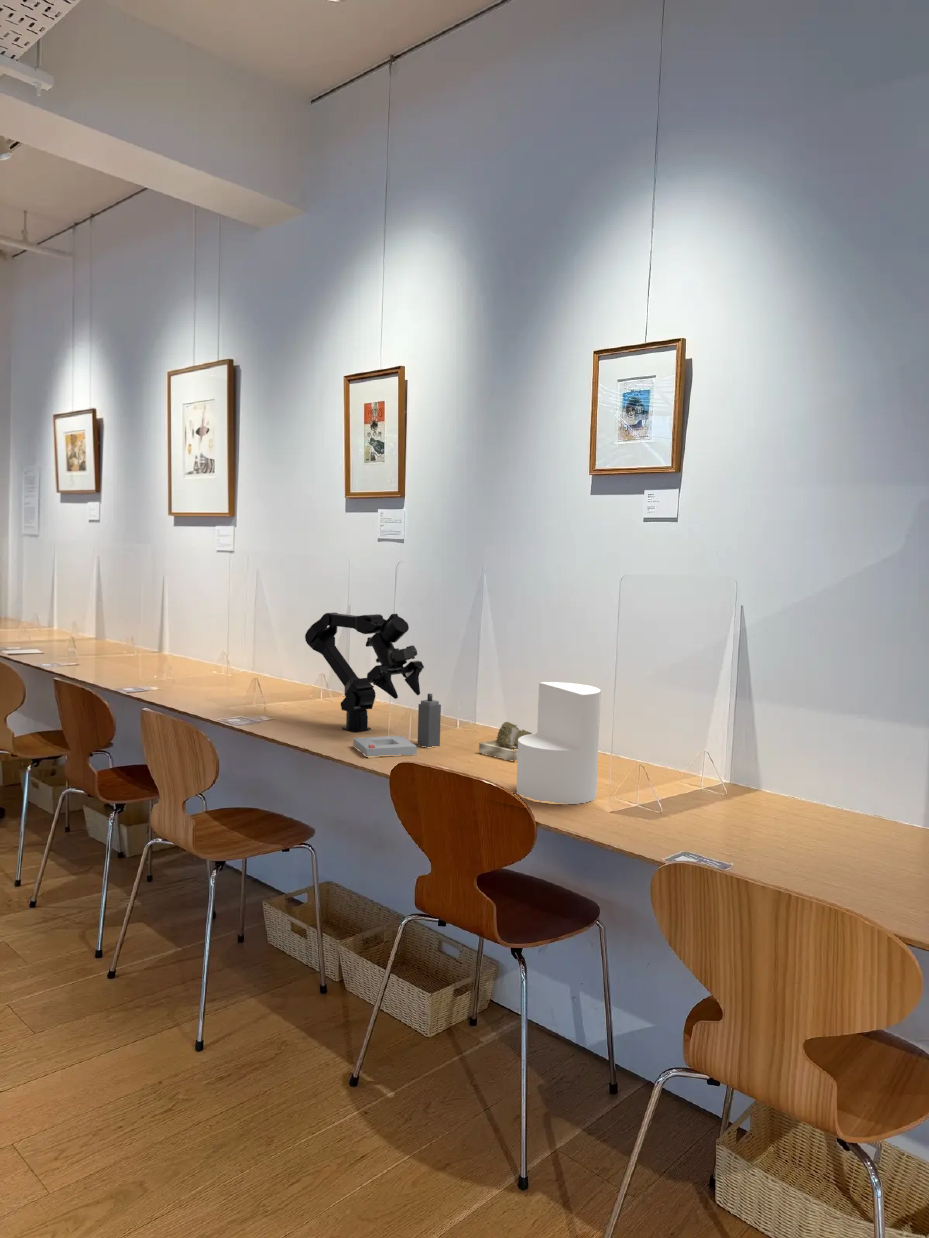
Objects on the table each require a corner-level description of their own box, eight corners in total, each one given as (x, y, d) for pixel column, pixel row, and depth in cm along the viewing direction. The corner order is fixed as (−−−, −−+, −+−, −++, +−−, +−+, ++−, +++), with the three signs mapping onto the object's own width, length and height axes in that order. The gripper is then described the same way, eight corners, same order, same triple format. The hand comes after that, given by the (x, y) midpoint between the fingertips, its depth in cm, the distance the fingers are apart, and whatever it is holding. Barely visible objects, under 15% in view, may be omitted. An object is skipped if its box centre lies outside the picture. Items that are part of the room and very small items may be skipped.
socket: (353, 746, 255) (353, 736, 255) (400, 744, 260) (401, 733, 260) (366, 758, 242) (367, 747, 242) (416, 755, 247) (416, 744, 247)
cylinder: (572, 780, 225) (576, 681, 223) (611, 801, 208) (616, 693, 206) (503, 786, 218) (506, 683, 216) (537, 808, 201) (541, 696, 199)
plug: (417, 745, 259) (418, 693, 258) (428, 743, 262) (430, 692, 261) (428, 748, 256) (429, 695, 255) (439, 746, 259) (441, 694, 258)
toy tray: (478, 753, 251) (479, 743, 251) (527, 742, 266) (528, 733, 266) (514, 762, 242) (514, 751, 242) (563, 750, 257) (563, 740, 257)
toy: (553, 739, 252) (509, 722, 261) (542, 735, 247) (498, 718, 256) (543, 764, 252) (500, 746, 260) (532, 761, 246) (488, 742, 255)
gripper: (377, 638, 257) (401, 685, 252) (423, 634, 271) (446, 678, 266) (356, 659, 263) (378, 705, 258) (401, 654, 277) (423, 698, 272)
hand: (408, 696), depth 263 cm, fingers open, 9 cm apart
